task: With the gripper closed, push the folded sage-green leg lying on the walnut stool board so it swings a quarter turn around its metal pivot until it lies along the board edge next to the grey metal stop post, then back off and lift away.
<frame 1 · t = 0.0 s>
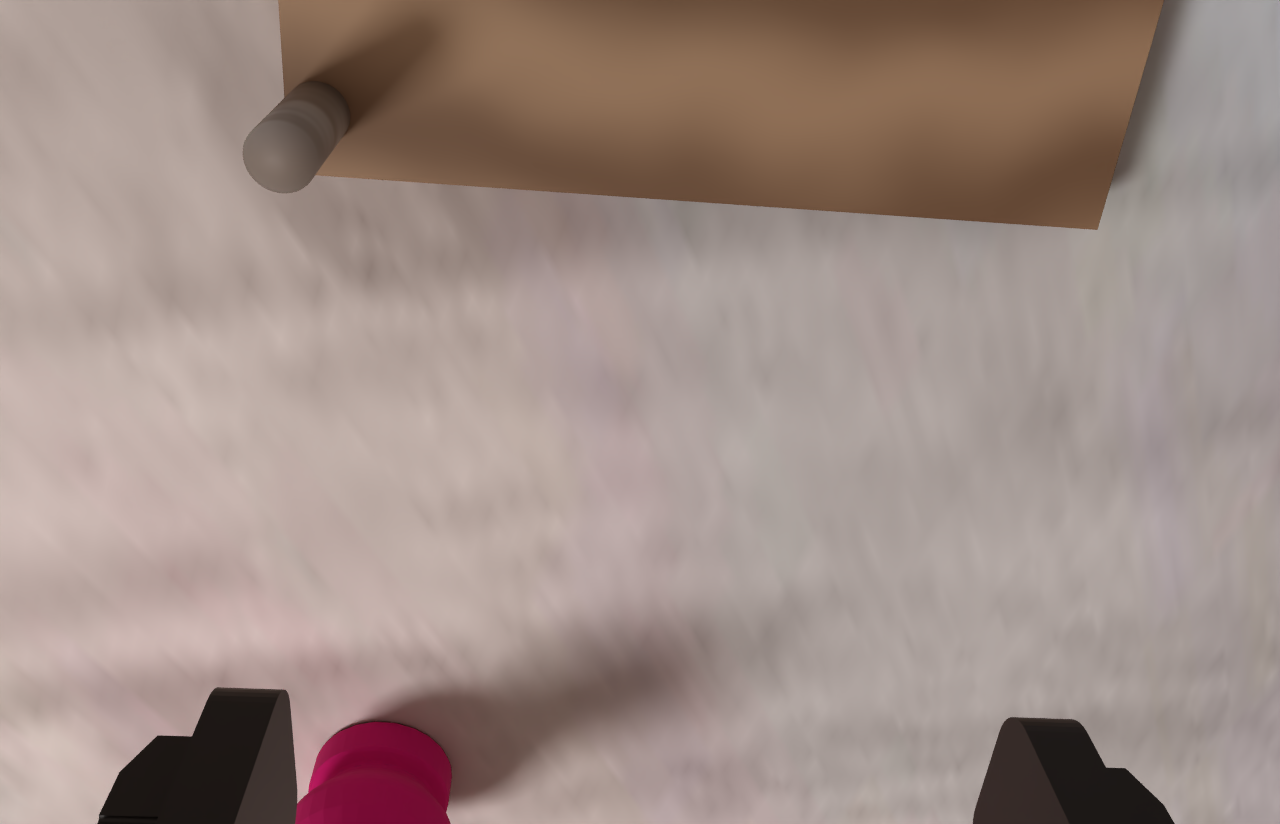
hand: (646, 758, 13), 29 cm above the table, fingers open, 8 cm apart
pepper mill: (385, 766, 53), on the table
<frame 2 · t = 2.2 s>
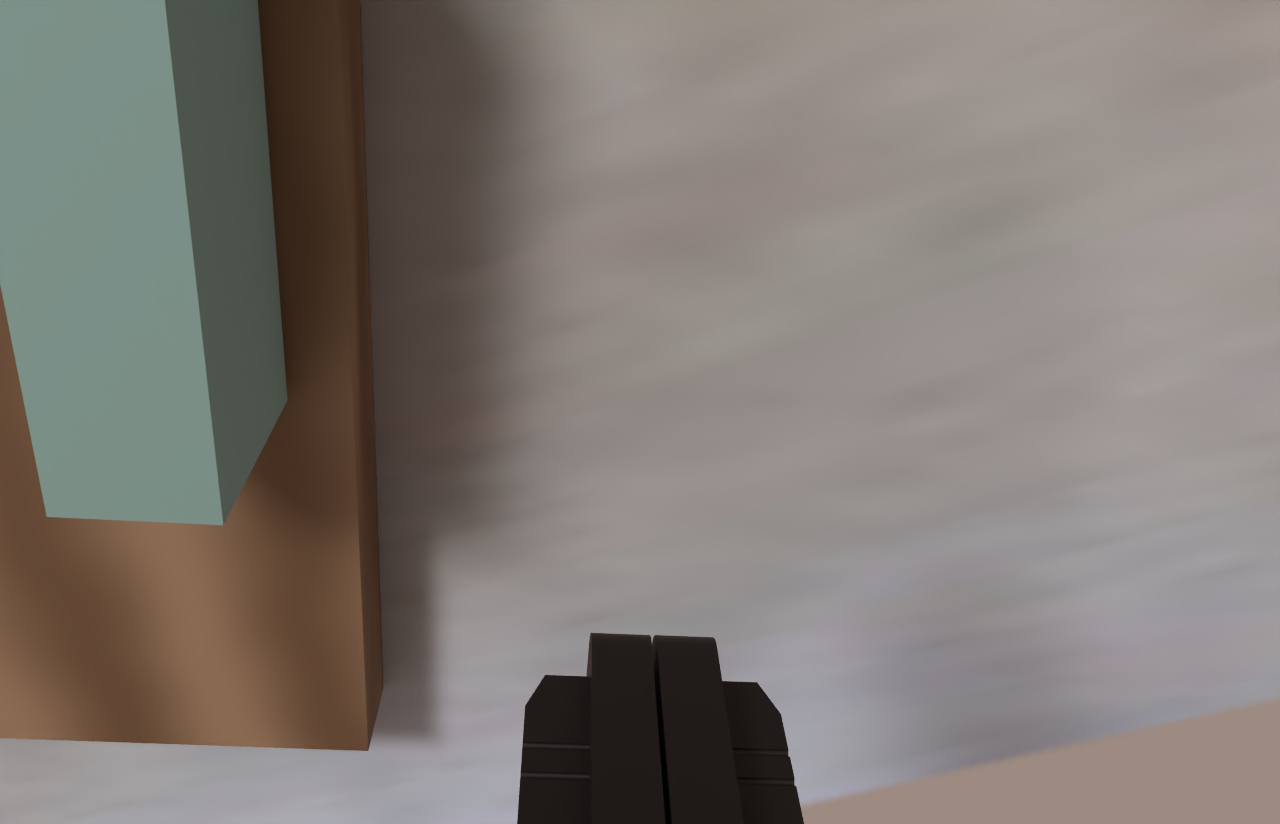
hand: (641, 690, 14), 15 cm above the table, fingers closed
hinged leg: (134, 111, 20), point 5 cm above the table, hinge at 90.0°
stool board: (43, 235, 26), on the table
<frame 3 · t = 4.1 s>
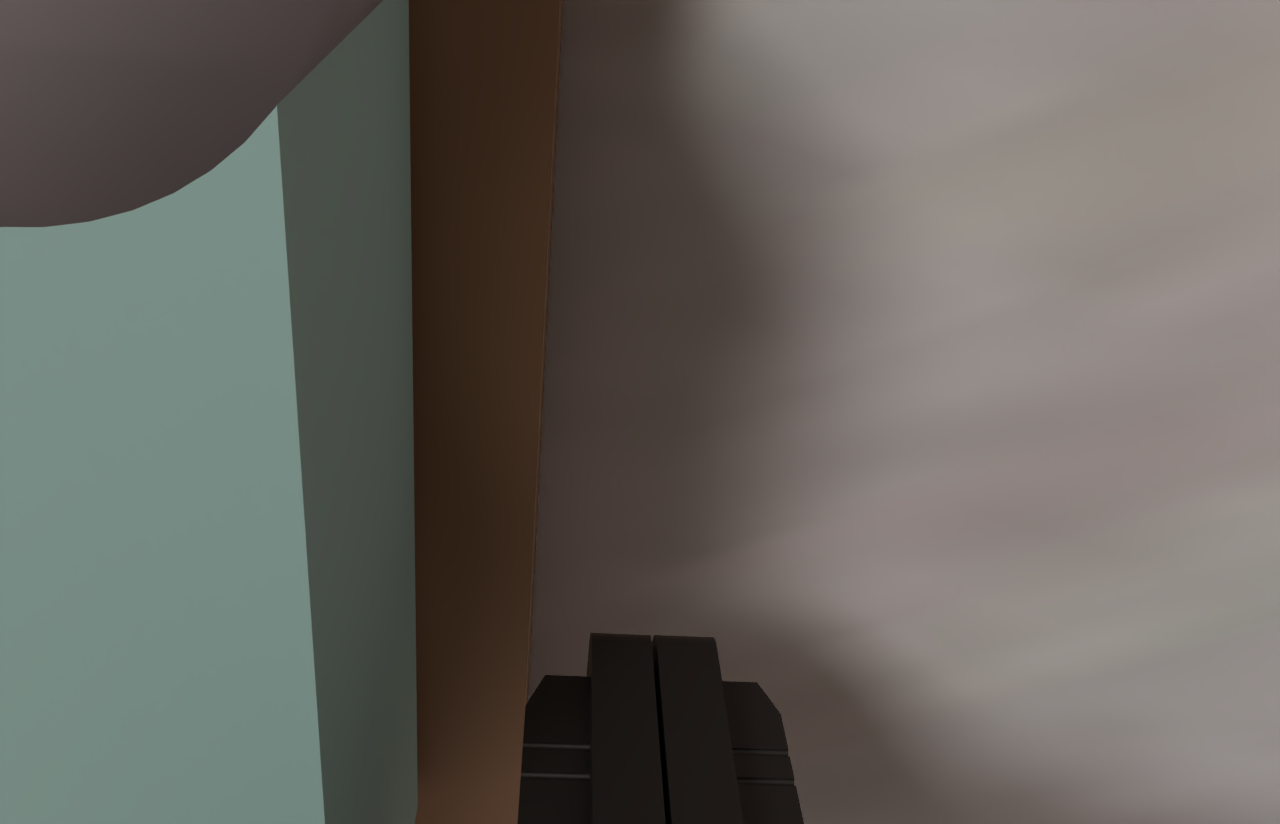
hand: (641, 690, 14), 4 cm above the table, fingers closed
hinged leg: (189, 457, 10), point 5 cm above the table, hinge at 90.0°, touching gripper
stool board: (17, 519, 16), on the table
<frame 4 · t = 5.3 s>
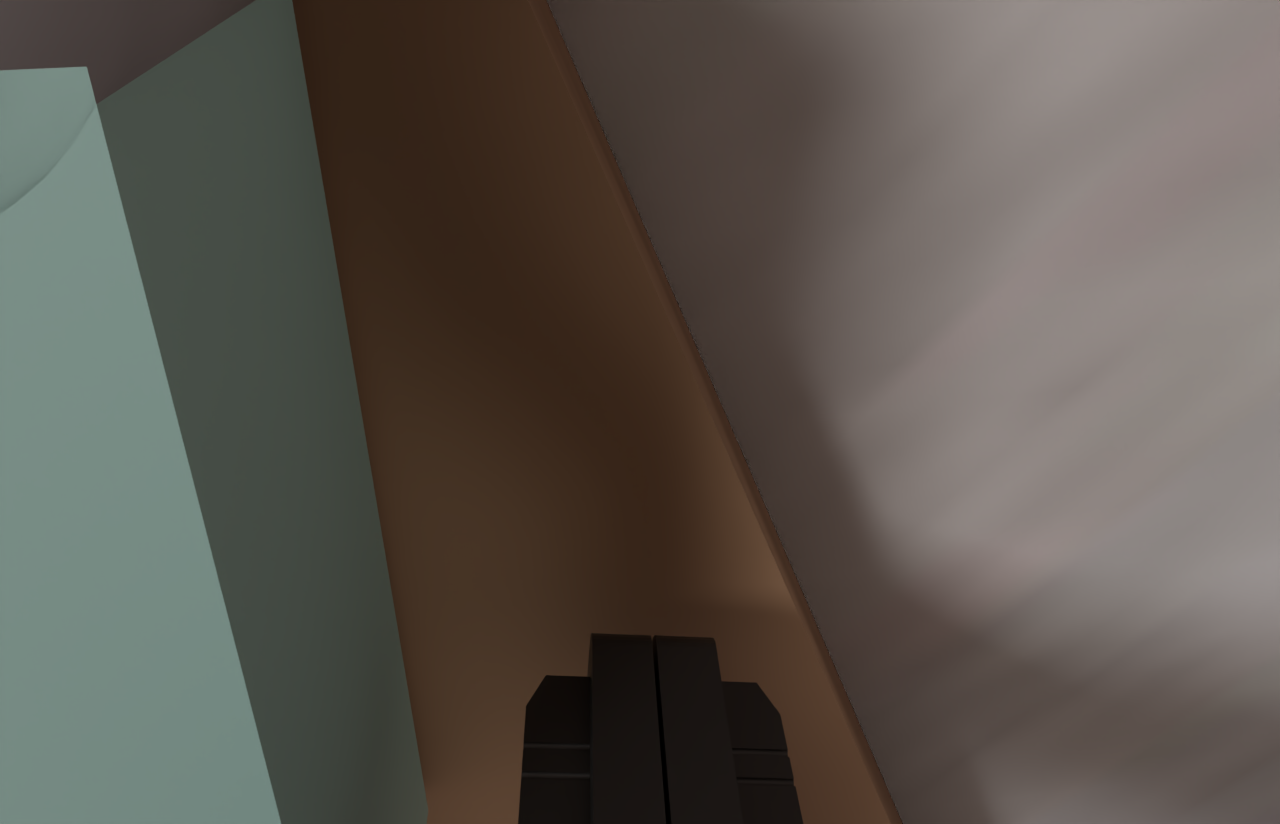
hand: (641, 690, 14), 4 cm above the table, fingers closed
hinged leg: (124, 480, 10), point 5 cm above the table, hinge at 69.2°, touching gripper
stool board: (272, 607, 17), on the table
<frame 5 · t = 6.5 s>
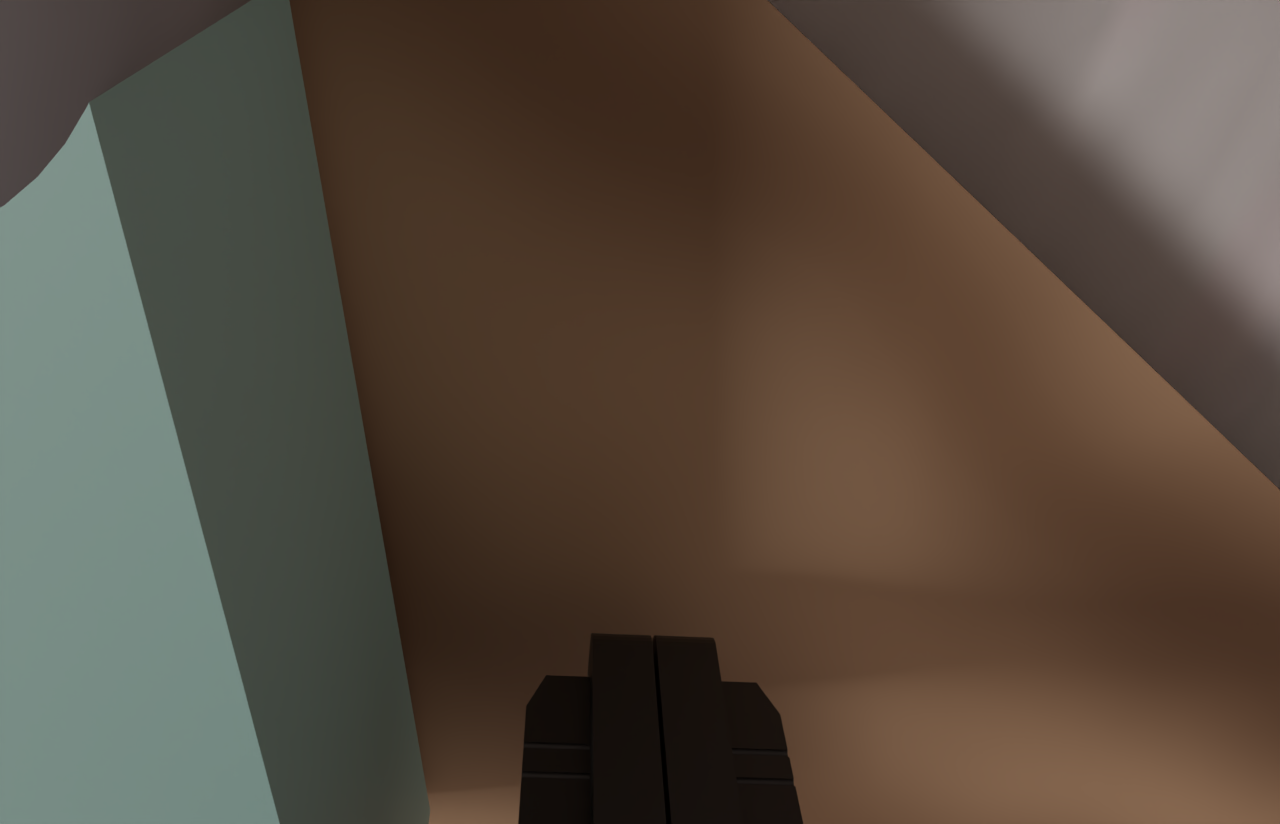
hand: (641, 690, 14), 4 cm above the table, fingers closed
hinged leg: (122, 480, 10), point 5 cm above the table, hinge at 42.9°, touching gripper
stool board: (581, 548, 17), on the table
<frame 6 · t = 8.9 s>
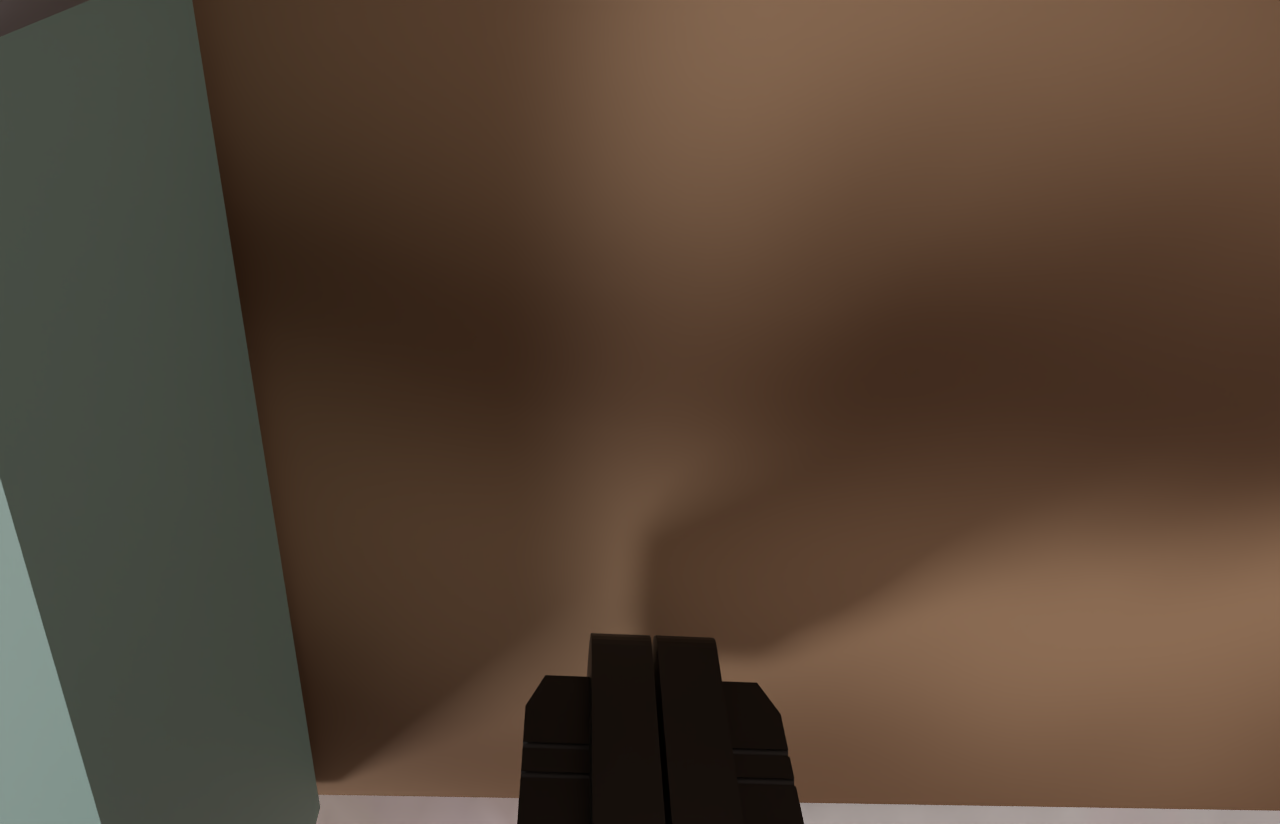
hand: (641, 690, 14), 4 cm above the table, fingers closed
stool board: (895, 247, 15), on the table
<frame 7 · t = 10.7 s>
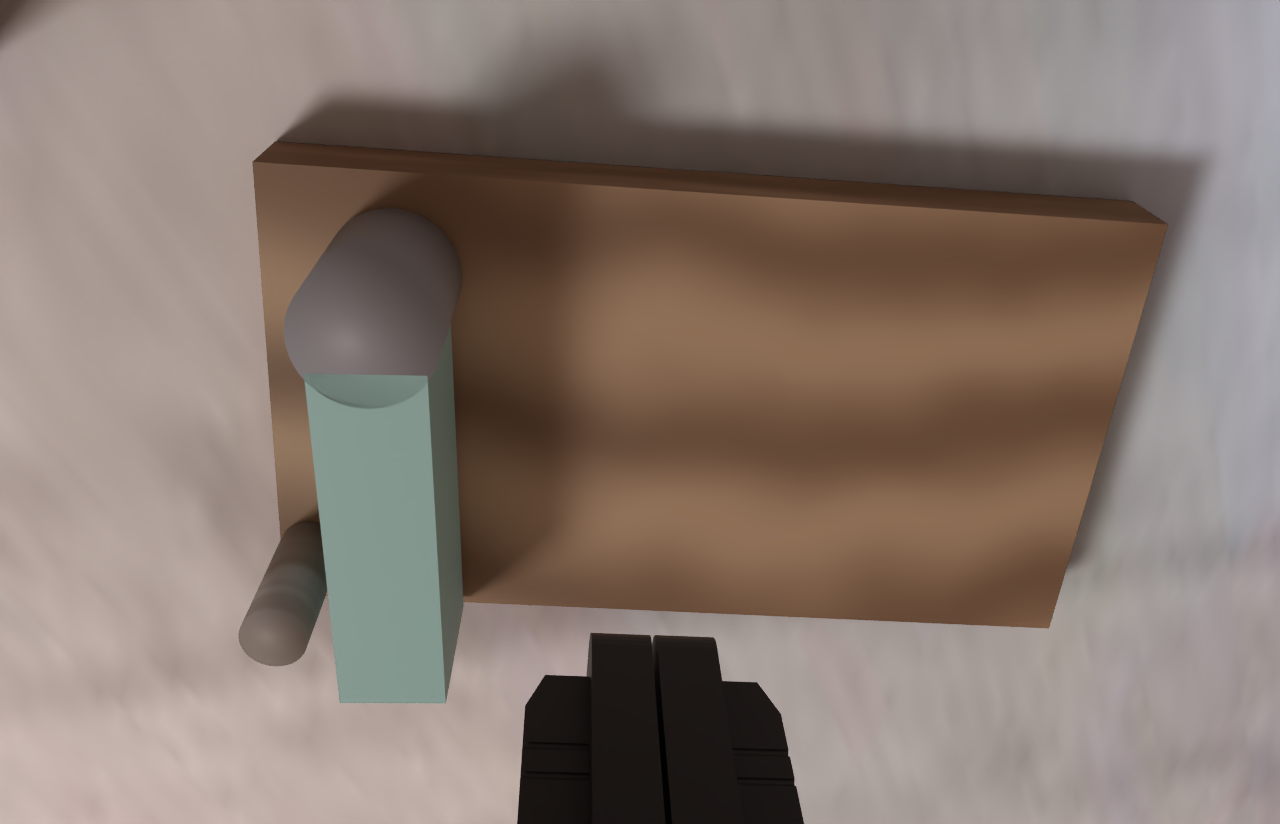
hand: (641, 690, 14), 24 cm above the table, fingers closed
hinged leg: (391, 462, 34), point 5 cm above the table, hinge at 2.6°
stool board: (690, 388, 39), on the table
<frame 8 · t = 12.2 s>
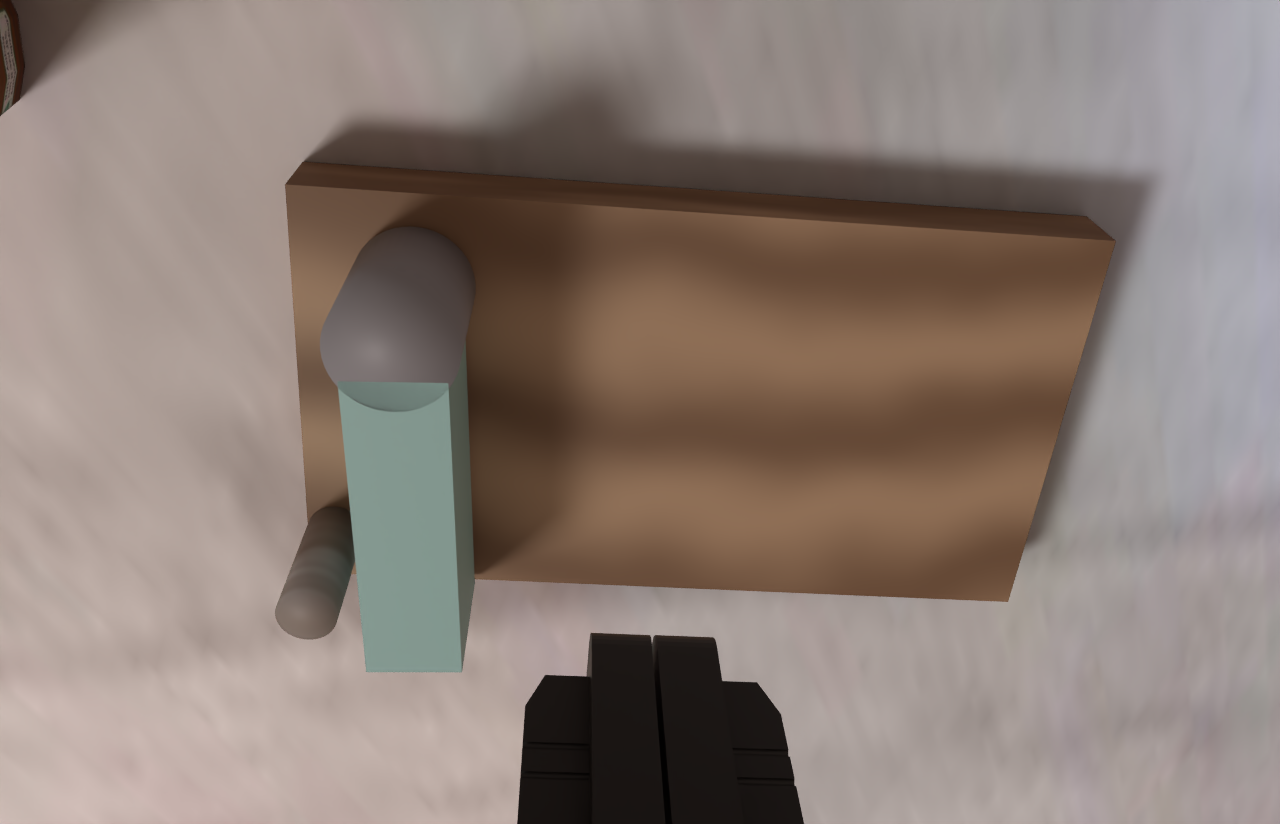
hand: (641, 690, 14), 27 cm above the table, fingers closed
hinged leg: (412, 456, 37), point 5 cm above the table, hinge at 2.6°
stool board: (682, 384, 42), on the table
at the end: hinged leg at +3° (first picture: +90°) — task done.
